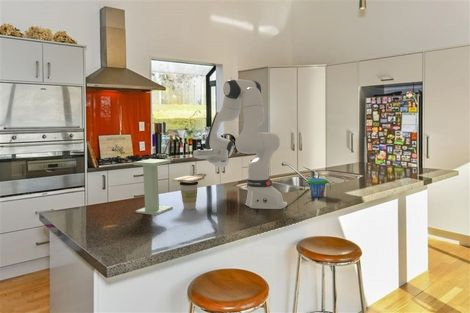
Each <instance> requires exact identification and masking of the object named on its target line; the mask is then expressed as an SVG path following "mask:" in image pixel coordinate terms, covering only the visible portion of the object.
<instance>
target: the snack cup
mask: <svg viewBox="0 0 470 313" xmlns="http://www.w3.org/2000/svg"><path fill="white" fill-rule="evenodd" d="M306 183H307V184H308V187H309V192H310V196H311V198H323V197H324V196H325V190H326V183H328V184H329V192H331V189H332V186H331V182H330V181H329V180H327V179H326V178H321V177H311V178H308V179H307V180H306V181H305V182H304V183H303V190H304V191H306V188H305V186H306V185H305V184H306Z"/></svg>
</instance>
